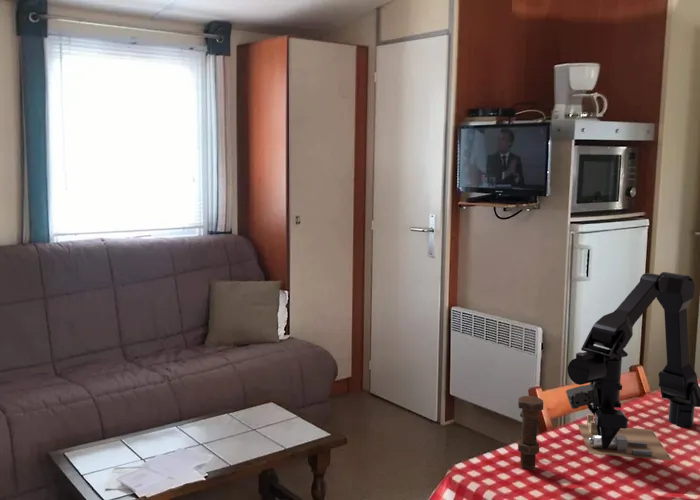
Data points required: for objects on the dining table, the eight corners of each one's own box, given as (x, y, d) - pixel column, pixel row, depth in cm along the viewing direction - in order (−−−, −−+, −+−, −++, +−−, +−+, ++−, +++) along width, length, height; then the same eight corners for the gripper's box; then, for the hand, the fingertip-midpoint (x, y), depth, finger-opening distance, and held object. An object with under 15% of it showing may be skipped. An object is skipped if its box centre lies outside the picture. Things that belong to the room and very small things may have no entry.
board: (577, 427, 174) (577, 423, 174) (651, 432, 171) (651, 429, 171) (589, 456, 157) (589, 453, 157) (672, 463, 154) (672, 460, 154)
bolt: (540, 473, 148) (544, 405, 146) (515, 471, 149) (519, 403, 147) (538, 462, 154) (542, 396, 152) (515, 459, 155) (518, 394, 153)
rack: (586, 424, 174) (587, 413, 174) (610, 426, 173) (611, 415, 173) (590, 433, 168) (591, 422, 168) (615, 435, 167) (616, 424, 167)
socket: (627, 444, 162) (627, 440, 162) (645, 446, 161) (646, 442, 161) (632, 454, 156) (633, 450, 156) (651, 456, 156) (652, 452, 155)
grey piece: (623, 447, 161) (624, 435, 160) (626, 451, 158) (627, 440, 157) (587, 444, 162) (588, 432, 161) (589, 449, 159) (590, 437, 159)
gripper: (564, 363, 168) (561, 425, 170) (575, 387, 150) (571, 457, 152) (613, 366, 166) (609, 429, 168) (630, 391, 148) (625, 461, 150)
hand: (602, 443), depth 160 cm, fingers open, 5 cm apart
